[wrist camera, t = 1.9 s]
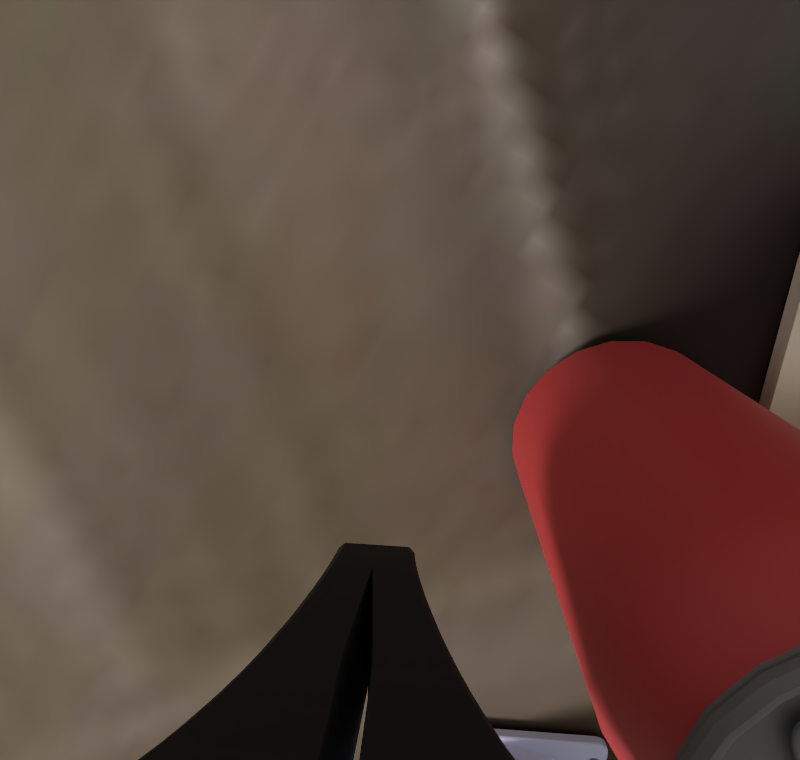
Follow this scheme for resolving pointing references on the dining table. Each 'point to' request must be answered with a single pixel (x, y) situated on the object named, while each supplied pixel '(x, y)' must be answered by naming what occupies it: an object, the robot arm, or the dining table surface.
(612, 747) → the beer can
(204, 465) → the dining table surface
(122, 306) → the dining table surface
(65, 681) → the dining table surface
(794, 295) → the birch tray
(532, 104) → the dining table surface
